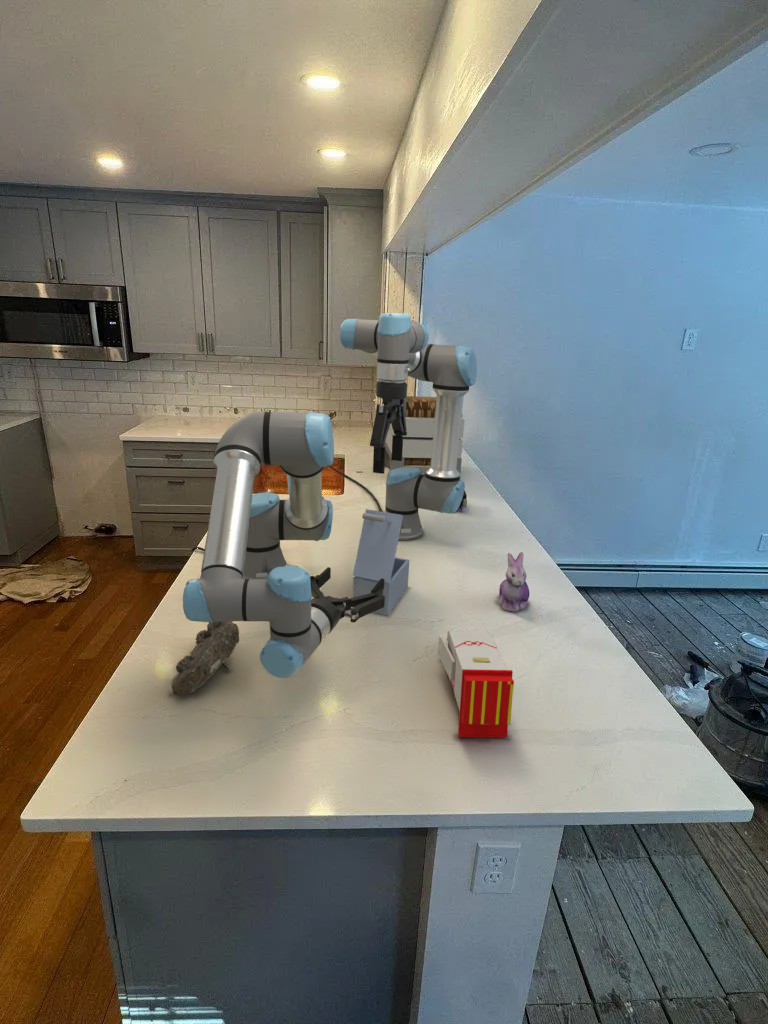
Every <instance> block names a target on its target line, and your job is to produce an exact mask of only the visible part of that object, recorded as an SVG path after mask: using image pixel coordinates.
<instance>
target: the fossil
mask: <svg viewBox="0 0 768 1024" xmlns="http://www.w3.org/2000/svg"><path fill="white" fill-rule="evenodd" d="M206 626H207V627H206V629H203V630H200V631H199V632H197V634H196V637H195V644H196V645H195V646H194V648H193V650H192V651H191V653H190V655H185V656H184V657H183V658H181V659H180V660H179V661H178V662H177V664H176V666H175V670H176V672H177V675H176V676H175V677H174V678H173V679H172V680H171V682H172V683H171V690H172V691H171V692H172V693H174V694H177V695H179V696H184V695H186V694H193V693H194V692H195V691H197V690H198V688H200V687H201V686H203V685H204V684H205V683H206V682H207V681H208V680H209V679H210V678H211V677H212V676H213V675H215V674H216V672H217V670H218V669H219V668H220V667H221V666H223V668H224V669H225V670H227V671H228V670H229V669H230V668H229V666H227V664H225V660H226V659H227V658H230V656H231V655H232V654H233V652H234V649H235V647H236V646H237V644H238V643H239V642H240V631H239V626H238V625H237V624H236V623H235V622H234V621H225V622H213V623H210V622H208V623H207V625H206Z"/></svg>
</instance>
